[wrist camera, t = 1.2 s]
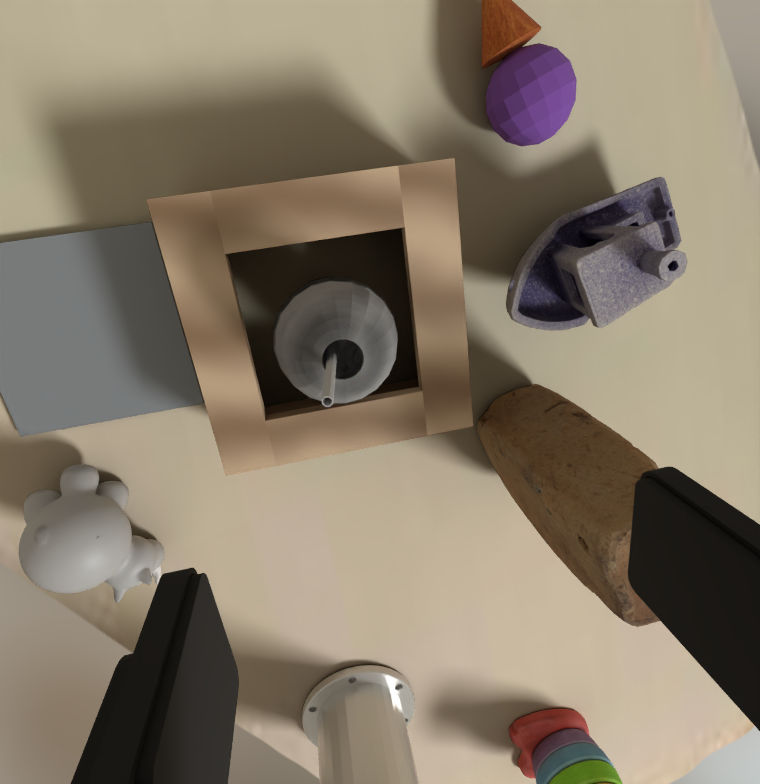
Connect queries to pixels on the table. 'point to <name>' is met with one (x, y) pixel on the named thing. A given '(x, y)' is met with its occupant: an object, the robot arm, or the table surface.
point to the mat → (90, 330)
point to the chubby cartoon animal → (85, 537)
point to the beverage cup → (335, 340)
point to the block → (571, 487)
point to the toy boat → (599, 261)
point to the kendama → (523, 77)
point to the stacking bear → (560, 749)
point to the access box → (303, 224)
